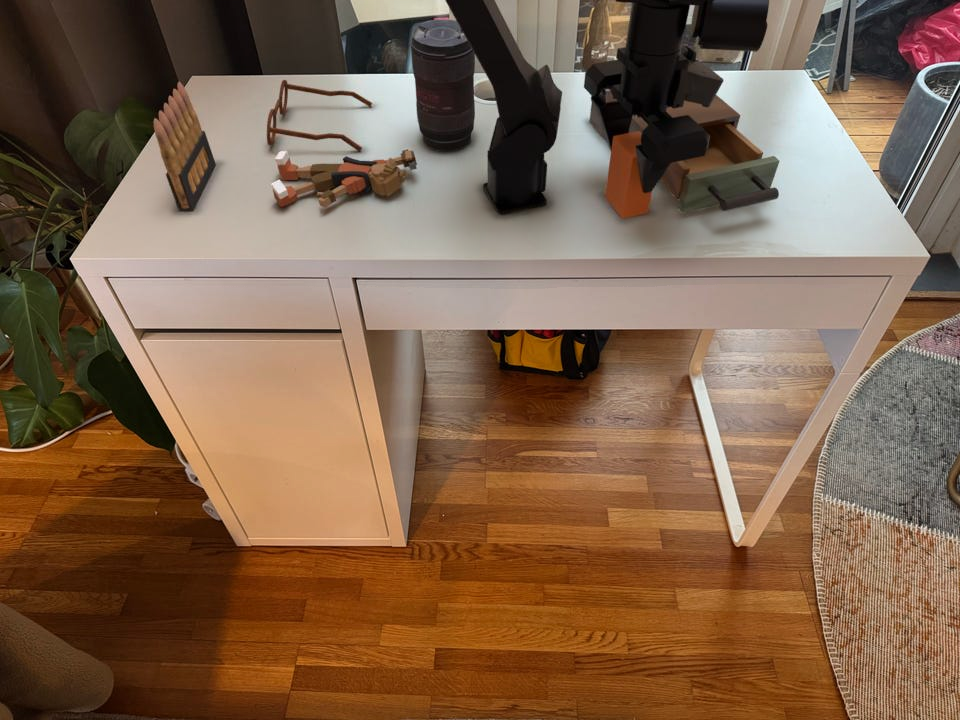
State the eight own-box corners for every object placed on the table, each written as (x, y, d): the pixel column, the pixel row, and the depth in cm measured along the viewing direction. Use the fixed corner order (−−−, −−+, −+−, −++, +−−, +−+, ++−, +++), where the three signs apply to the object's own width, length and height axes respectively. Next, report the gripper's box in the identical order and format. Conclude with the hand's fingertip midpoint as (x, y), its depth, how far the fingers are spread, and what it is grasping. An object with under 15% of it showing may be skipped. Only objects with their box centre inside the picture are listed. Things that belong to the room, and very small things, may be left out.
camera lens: (417, 156, 96) (408, 46, 85) (419, 125, 102) (410, 18, 91) (476, 154, 97) (475, 44, 85) (475, 124, 102) (473, 17, 91)
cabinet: (728, 159, 95) (740, 115, 90) (639, 178, 92) (647, 133, 88) (671, 106, 105) (679, 63, 100) (589, 121, 102) (594, 79, 97)
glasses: (286, 106, 106) (278, 74, 102) (372, 105, 106) (368, 73, 102) (268, 153, 97) (259, 120, 93) (362, 153, 97) (357, 119, 93)
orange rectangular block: (647, 213, 87) (660, 151, 81) (622, 219, 86) (632, 157, 80) (629, 191, 90) (639, 130, 84) (604, 196, 90) (613, 135, 83)
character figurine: (286, 137, 94) (417, 131, 90) (298, 169, 97) (424, 165, 94) (255, 188, 86) (397, 184, 83) (269, 222, 89) (405, 219, 86)
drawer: (789, 213, 85) (802, 179, 82) (700, 234, 83) (710, 200, 79) (707, 137, 97) (715, 105, 94) (627, 153, 95) (632, 121, 91)
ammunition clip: (202, 164, 96) (173, 78, 87) (216, 164, 96) (188, 78, 87) (178, 211, 88) (144, 122, 80) (193, 211, 88) (160, 122, 79)
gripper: (773, 70, 69) (732, 203, 81) (677, 0, 81) (653, 125, 93) (672, 89, 67) (645, 223, 78) (588, 14, 79) (576, 140, 90)
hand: (631, 174), depth 85 cm, fingers open, 7 cm apart
